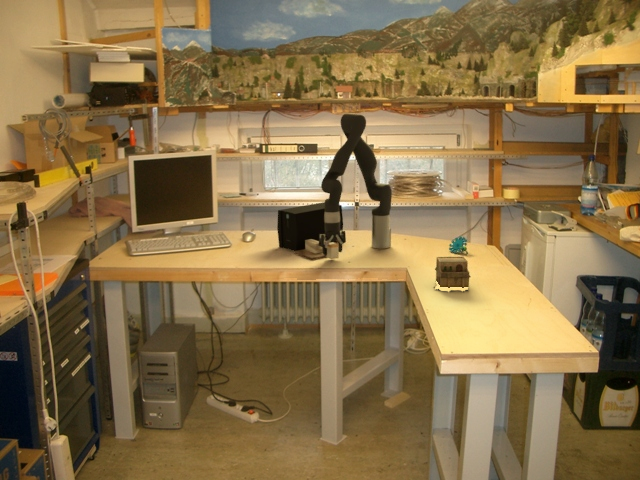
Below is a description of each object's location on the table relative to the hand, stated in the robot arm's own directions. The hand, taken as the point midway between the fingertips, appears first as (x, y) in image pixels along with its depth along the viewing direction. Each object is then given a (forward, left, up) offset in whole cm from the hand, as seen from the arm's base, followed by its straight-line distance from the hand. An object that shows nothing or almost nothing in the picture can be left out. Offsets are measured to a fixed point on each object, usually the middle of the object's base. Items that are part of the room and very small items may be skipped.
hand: (332, 253), depth 294 cm
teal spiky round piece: (-59, +26, -4) cm, 64 cm away
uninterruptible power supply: (-10, -33, -4) cm, 35 cm away
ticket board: (0, -14, -3) cm, 15 cm away
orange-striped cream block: (0, 0, -2) cm, 2 cm away
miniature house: (-15, +63, -4) cm, 65 cm away
